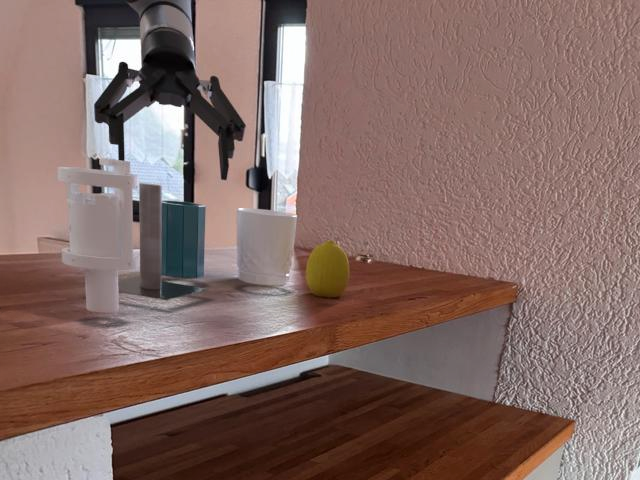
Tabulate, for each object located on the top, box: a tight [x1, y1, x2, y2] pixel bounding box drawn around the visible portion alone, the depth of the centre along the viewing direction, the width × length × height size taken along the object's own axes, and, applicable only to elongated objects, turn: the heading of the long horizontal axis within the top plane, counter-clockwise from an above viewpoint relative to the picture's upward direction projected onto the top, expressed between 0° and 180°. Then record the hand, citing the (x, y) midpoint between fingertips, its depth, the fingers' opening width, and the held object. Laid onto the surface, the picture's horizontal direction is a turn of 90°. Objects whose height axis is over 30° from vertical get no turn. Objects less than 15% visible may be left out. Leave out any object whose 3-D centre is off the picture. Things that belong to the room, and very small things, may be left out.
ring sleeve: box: [161, 199, 207, 279], centre depth 95 cm, size 6×6×10 cm
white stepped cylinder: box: [57, 157, 140, 314], centre depth 70 cm, size 7×7×15 cm
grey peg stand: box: [118, 182, 209, 301], centre depth 83 cm, size 10×10×12 cm
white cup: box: [236, 207, 298, 287], centre depth 98 cm, size 8×8×10 cm
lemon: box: [305, 239, 350, 299], centre depth 93 cm, size 6×6×8 cm
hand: (174, 167), depth 99 cm, fingers open, 13 cm apart
